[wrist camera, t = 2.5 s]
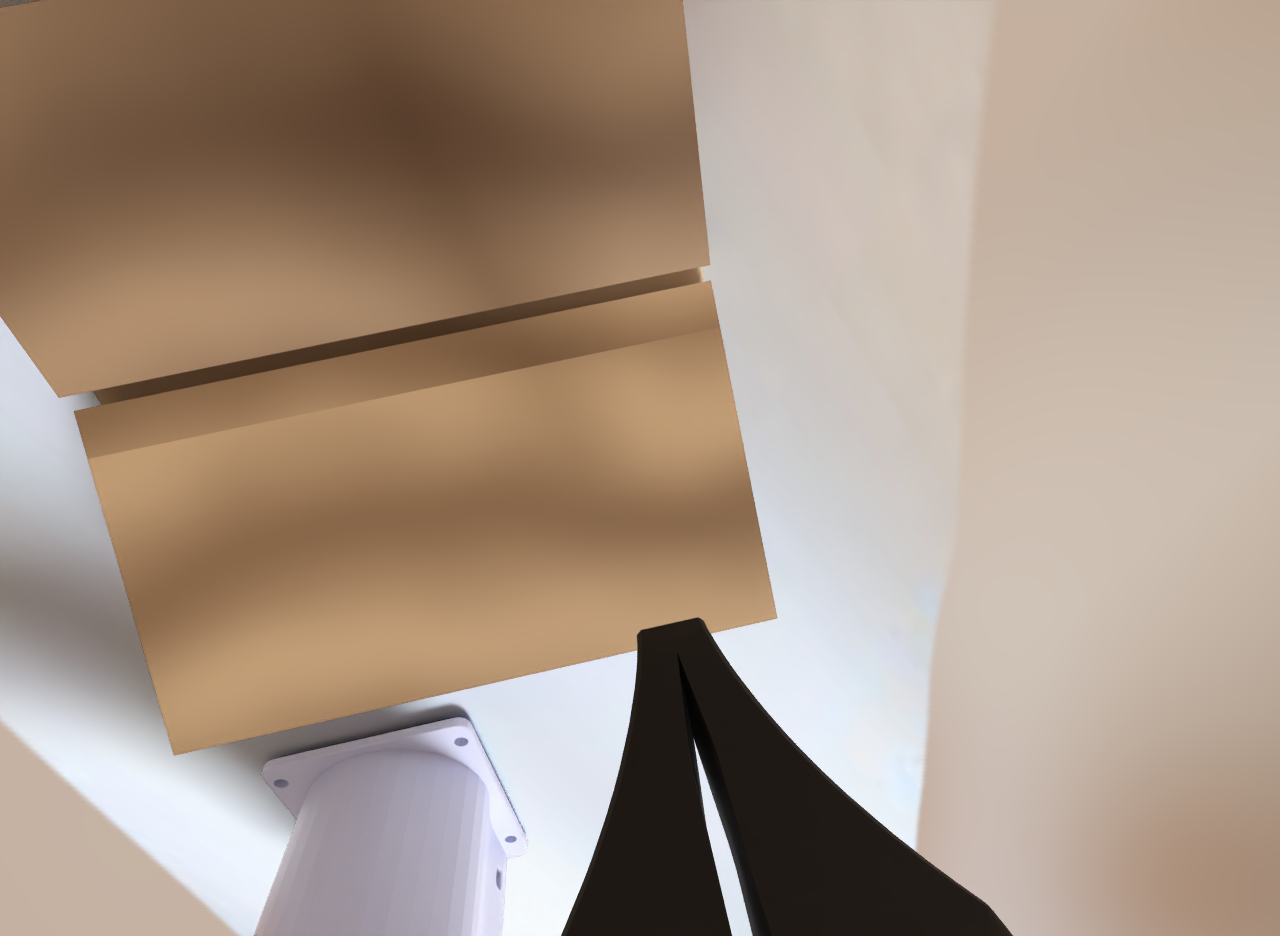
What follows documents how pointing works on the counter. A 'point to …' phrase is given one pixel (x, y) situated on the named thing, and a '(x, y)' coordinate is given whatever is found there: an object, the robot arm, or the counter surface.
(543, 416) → the loose plank
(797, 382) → the counter surface
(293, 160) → the laid plank
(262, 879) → the counter surface
